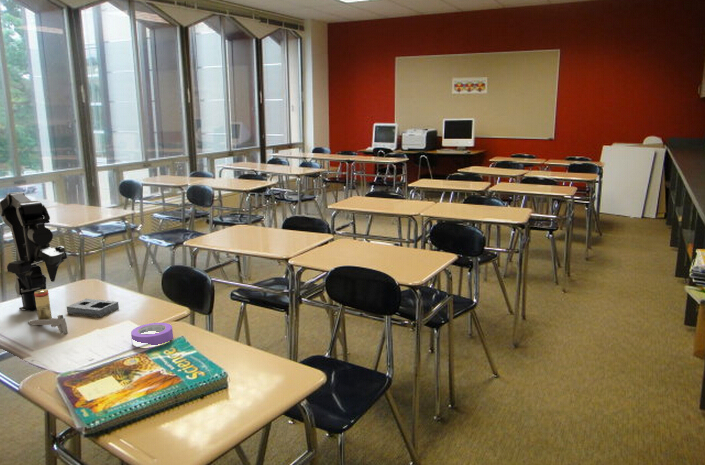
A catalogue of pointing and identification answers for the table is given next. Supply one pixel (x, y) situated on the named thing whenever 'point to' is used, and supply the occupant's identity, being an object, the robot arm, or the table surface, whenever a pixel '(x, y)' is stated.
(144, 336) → the masking tape
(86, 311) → the grey flat block
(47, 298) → the tan cylindrical container
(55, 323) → the caliper
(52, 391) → the table surface
